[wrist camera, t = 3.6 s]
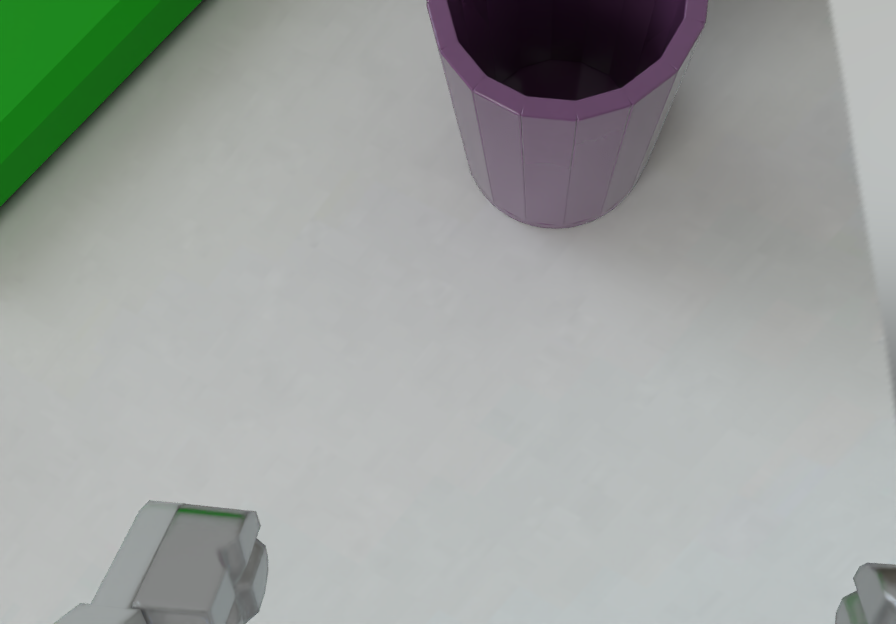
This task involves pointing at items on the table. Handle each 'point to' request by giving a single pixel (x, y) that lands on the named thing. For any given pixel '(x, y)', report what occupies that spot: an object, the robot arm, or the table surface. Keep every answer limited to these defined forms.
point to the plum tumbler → (562, 96)
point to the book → (67, 69)
